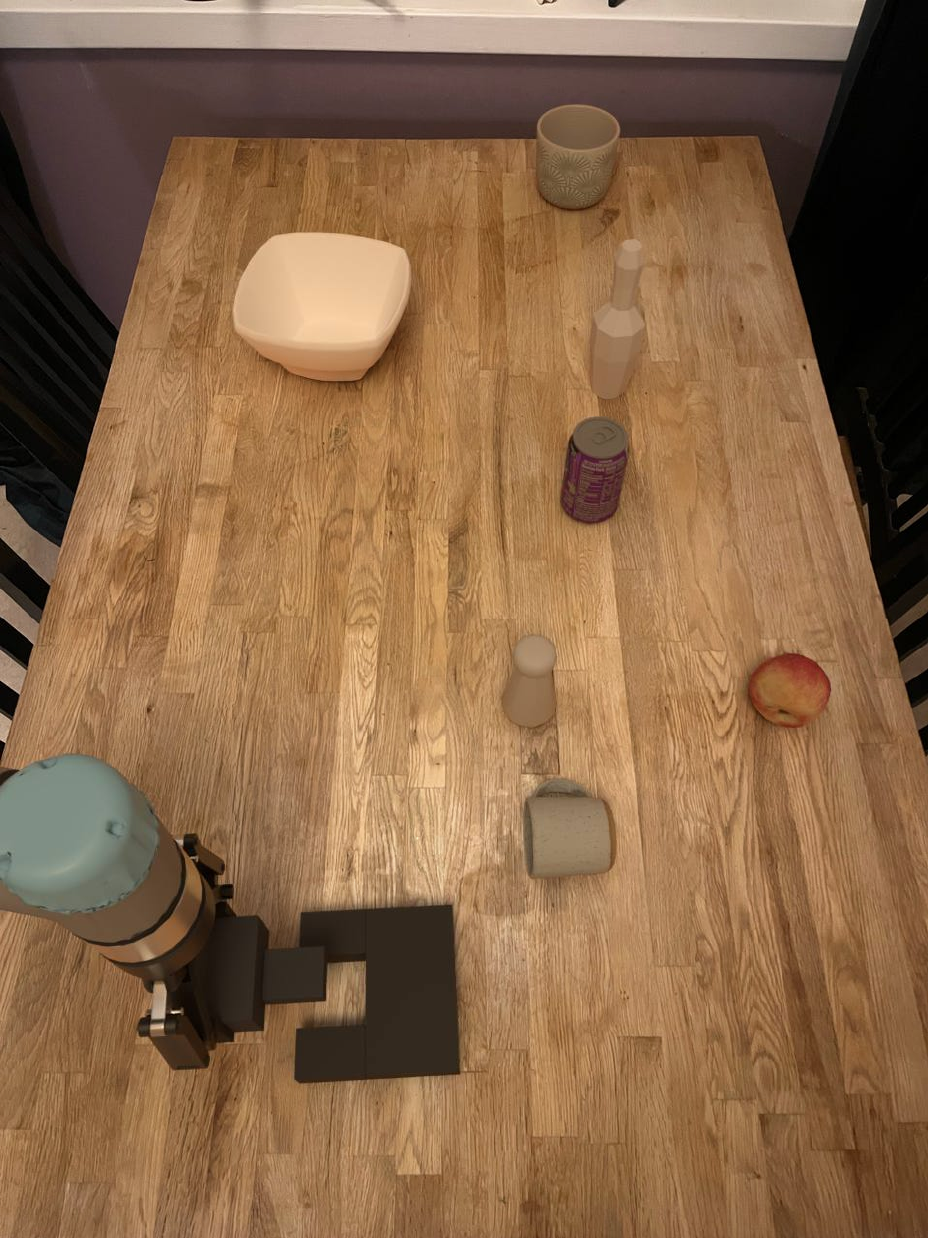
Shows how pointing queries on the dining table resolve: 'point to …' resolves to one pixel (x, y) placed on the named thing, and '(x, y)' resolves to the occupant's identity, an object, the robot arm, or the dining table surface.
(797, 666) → the fruit
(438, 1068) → the dark u-shaped block
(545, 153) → the planter
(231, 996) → the tab pad
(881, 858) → the dining table surface
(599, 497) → the beverage can
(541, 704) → the salt shaker
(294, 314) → the bowl
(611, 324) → the low poly bottle
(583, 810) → the ceramic mug
